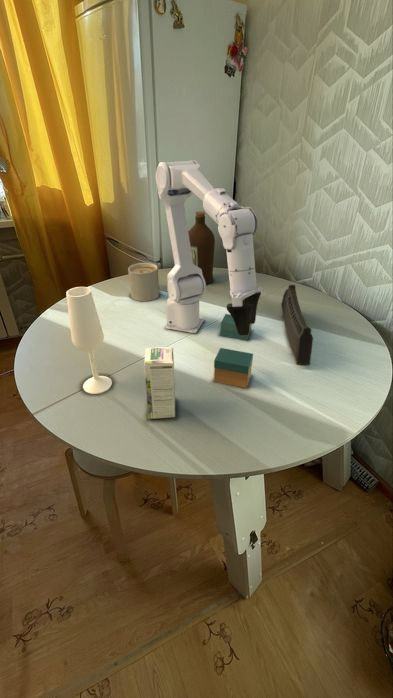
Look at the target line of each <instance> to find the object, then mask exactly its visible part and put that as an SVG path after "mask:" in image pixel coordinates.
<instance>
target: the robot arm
mask: <svg viewBox="0 0 393 698" xmlns="http://www.w3.org/2000/svg"><path fill="white" fill-rule="evenodd" d="M155 182H156V188H157V189H156V190H157V193H158V198H159V200H160V201H161V202H163V203H164V209H165V210H164V211H165V216H166V220H167V221H166V222H167V227H168V232H169V233H168V234H169V239H170V244H171V252H172V257H173V262H174V266H173V268H172V269H171V270H170V271H169V272H168V273H167V275H166V278H167V286H166V287H167V293H168V298H167V300H166V305H165V314H166V317H165V318H166V326H165V329H167V330H173V331H179V332H185V333H191V334H196V333H197V332H198V331H199V329H200V328H201V326H202V324H204V318H203V319H202V318H200V300H201V299H202V297H203V295H205V293H206V290H207V284H206V282H205V279H204V277H203V274H202V270H201V269H200V268H199V267H197V266H195V265H194V264H193V260H192V253H191V247H190V240H189V234H188V231H189V228H188V221H187V215H186V207H185V203H186V201H187V199H188V198H190V197H191V196H192V195H193V194H194V195H195V196H196V197H197V198H198V199H199V200H200V201H202V208H203V210H204V212H205V213H206V214H207V215H208V216H209V217H210V218H211V219H212V220H213V221H214V223H216V225H217V231H218V234H219V236H220V238H221V240H222V247H223V248H224V249H225V250H226V251H225V252H226V261H227V270H228V278H229V288H230V289H229V295H230V297H231V303H227V305H225V306H226V310H227V312H228V313H229V315H231V316H232V318H233V320H234V322H235V325H236V328H237V331H238V334H239V335H248V334H249V330H250V324H252V325H254V324H255V323H256V318H257V309H258V303H259V300H260V298H261V295H262V292H263V287H262V286H258V285H257V274H256V264H255V263H256V261H255V248H254V235H256V233H257V231H258V227H259V222H258V221H259V219H258V216H257V213H256V212H255V210H254V209H253V208H252V207H250V206H245V207H244V206H240V204H239V203H238V202H237V201H235V200H234V199H233V198H232V197H231V196H230V195H229V194H228V193H227V190H226V189H225V188H224V187H222V188H220V187H219V188H217V187H216V188H214V187H213V186H212V184H211V183H210V182H209V181H208V179H207V178H206V177H205V176H204V175H203V170H202V166H201V164H200V163H198V161H197V160H195V159H191V160H181V161H180V160H179V161H168V162H166V161H161V162H159V164H158V165H157V167H156V171H155ZM191 274H192V275H191ZM188 275H190V276H188Z"/></svg>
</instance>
